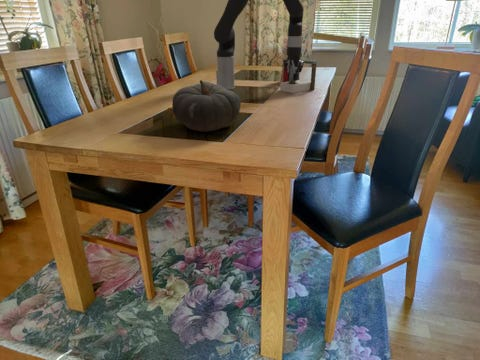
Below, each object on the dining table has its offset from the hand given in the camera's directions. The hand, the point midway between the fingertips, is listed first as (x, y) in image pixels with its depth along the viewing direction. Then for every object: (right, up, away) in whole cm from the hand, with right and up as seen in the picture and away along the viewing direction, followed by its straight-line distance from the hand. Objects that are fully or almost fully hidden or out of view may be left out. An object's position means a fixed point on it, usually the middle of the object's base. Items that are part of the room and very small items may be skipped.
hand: (292, 80), depth 180 cm
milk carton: (+1, +5, +24) cm, 25 cm away
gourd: (-40, -33, -53) cm, 74 cm away
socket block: (+2, -4, +4) cm, 6 cm away
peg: (0, -4, +2) cm, 4 cm away
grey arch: (+6, -3, +6) cm, 9 cm away
